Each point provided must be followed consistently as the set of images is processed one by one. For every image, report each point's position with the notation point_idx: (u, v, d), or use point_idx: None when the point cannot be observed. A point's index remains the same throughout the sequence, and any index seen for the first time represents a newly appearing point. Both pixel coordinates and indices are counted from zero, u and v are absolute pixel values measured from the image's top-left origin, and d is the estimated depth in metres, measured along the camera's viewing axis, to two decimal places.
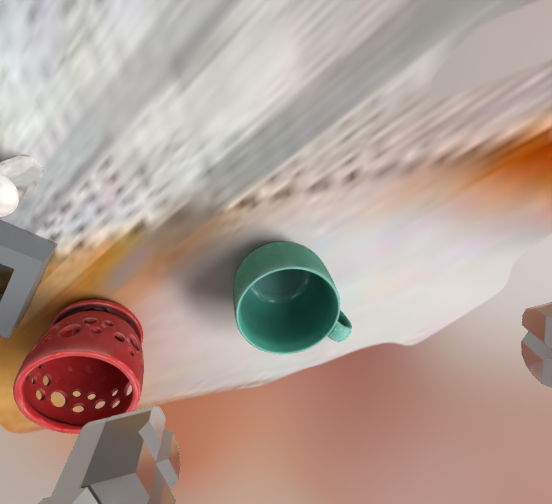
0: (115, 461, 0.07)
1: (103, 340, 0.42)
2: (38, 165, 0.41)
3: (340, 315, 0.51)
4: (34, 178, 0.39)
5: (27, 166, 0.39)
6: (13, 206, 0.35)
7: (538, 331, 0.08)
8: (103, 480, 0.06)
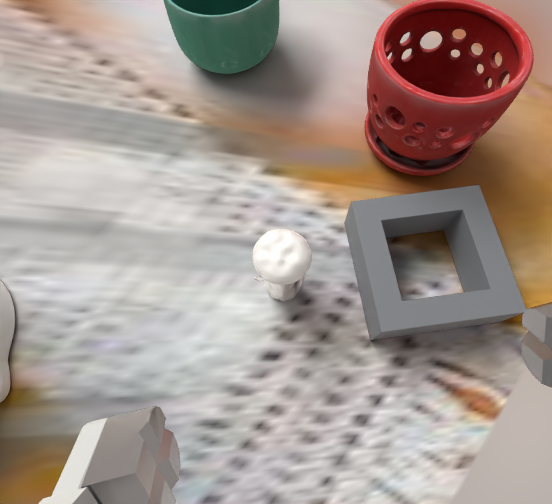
0: (115, 461, 0.07)
1: (373, 78, 0.34)
2: None
3: None
4: None
5: None
6: (278, 229, 0.30)
7: (538, 331, 0.08)
8: (103, 480, 0.06)
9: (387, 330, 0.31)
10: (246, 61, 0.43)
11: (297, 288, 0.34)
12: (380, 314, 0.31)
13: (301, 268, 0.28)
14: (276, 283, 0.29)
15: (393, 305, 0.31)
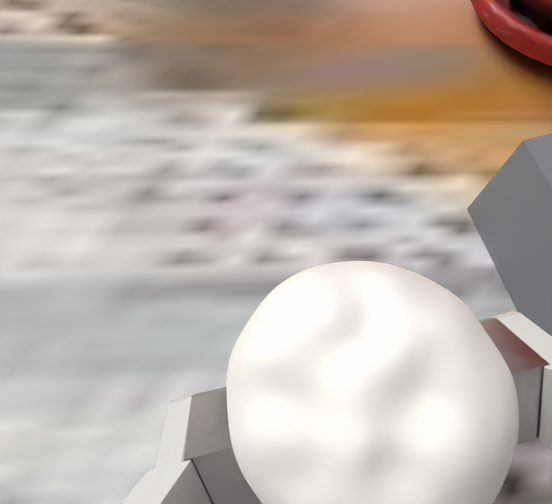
0: (213, 435, 0.07)
1: None
2: None
3: None
4: None
5: None
6: (328, 268, 0.07)
7: None
8: (205, 453, 0.06)
9: None
10: None
11: None
12: None
13: (491, 474, 0.05)
14: None
15: None
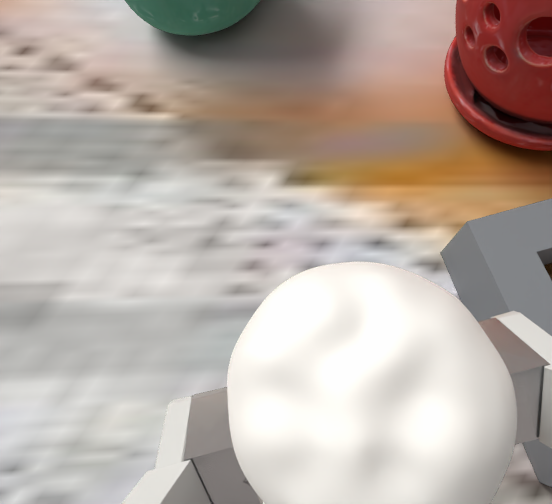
0: (213, 436, 0.07)
1: None
2: None
3: None
4: None
5: None
6: (327, 269, 0.07)
7: None
8: (204, 454, 0.06)
9: None
10: (232, 5, 0.26)
11: None
12: None
13: (488, 473, 0.05)
14: None
15: None
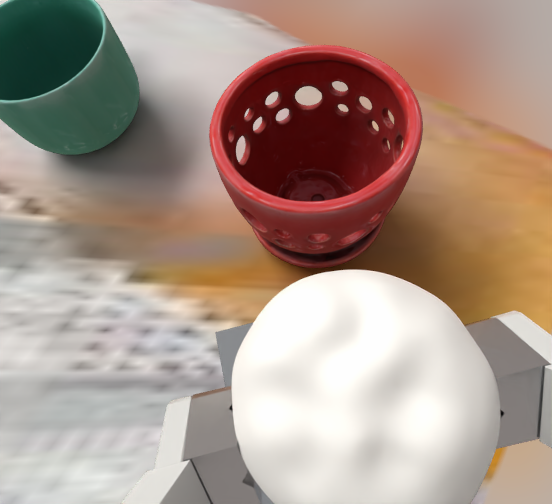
0: (212, 436, 0.07)
1: None
2: None
3: None
4: None
5: None
6: (325, 276, 0.07)
7: None
8: (204, 454, 0.06)
9: None
10: (96, 139, 0.35)
11: None
12: None
13: (475, 464, 0.06)
14: None
15: None
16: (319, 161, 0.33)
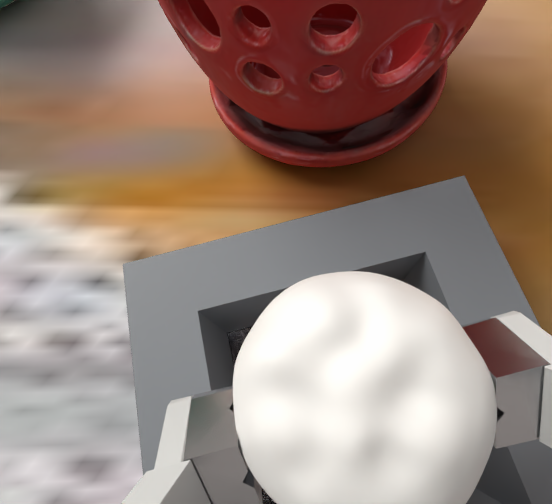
0: (212, 435, 0.07)
1: None
2: None
3: None
4: None
5: None
6: (325, 278, 0.07)
7: None
8: (204, 453, 0.06)
9: None
10: None
11: None
12: None
13: (472, 462, 0.06)
14: None
15: None
16: None
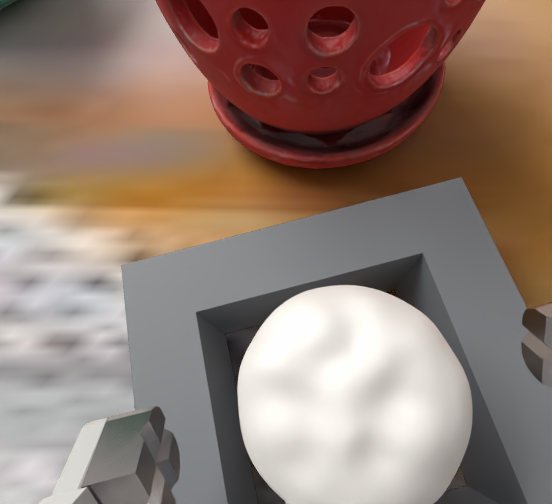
0: (115, 461, 0.07)
1: None
2: None
3: None
4: None
5: None
6: (321, 291, 0.08)
7: (538, 331, 0.08)
8: (103, 480, 0.06)
9: None
10: None
11: None
12: None
13: (449, 457, 0.07)
14: None
15: None
16: None
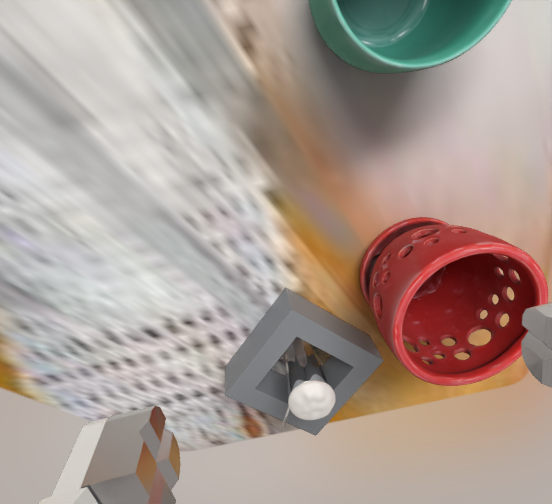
0: (115, 461, 0.07)
1: (398, 273, 0.30)
2: (294, 341, 0.43)
3: None
4: (305, 352, 0.40)
5: (293, 354, 0.40)
6: (326, 387, 0.36)
7: (538, 331, 0.08)
8: (103, 480, 0.06)
9: (229, 396, 0.40)
10: None
11: None
12: (233, 386, 0.39)
13: (315, 419, 0.37)
14: (293, 413, 0.37)
15: (247, 387, 0.39)
16: None
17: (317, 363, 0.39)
